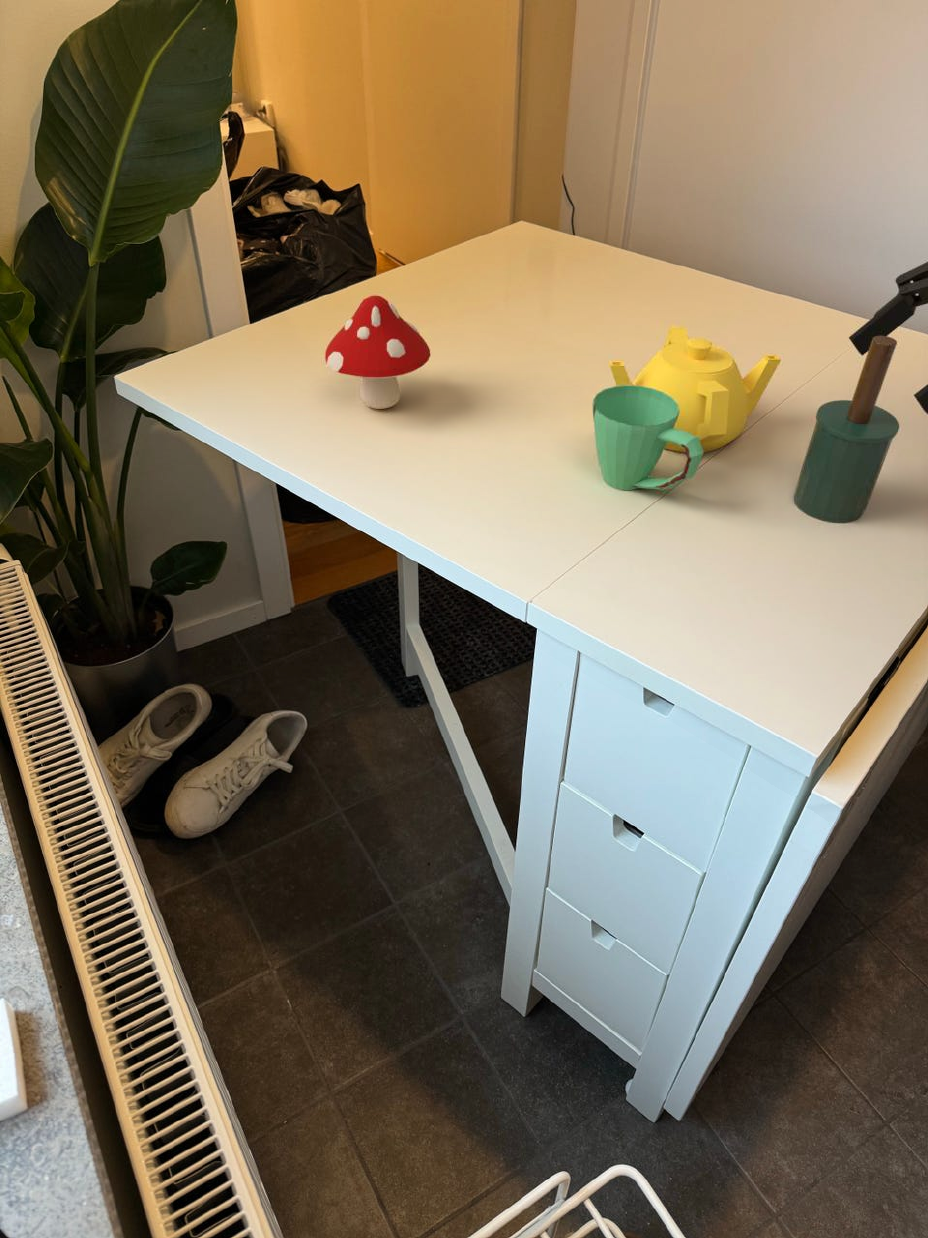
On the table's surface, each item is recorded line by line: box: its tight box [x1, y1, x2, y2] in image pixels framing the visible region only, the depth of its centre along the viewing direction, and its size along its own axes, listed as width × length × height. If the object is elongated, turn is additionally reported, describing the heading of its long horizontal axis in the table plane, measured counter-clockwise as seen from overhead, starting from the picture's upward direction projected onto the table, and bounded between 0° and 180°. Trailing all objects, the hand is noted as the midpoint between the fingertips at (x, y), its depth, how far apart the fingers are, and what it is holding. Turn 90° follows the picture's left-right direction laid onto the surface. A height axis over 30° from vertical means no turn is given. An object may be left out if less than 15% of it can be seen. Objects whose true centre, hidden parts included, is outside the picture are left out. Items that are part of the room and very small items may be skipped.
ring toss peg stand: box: [815, 336, 900, 443], centre depth 95 cm, size 9×9×10 cm
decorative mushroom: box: [324, 295, 431, 410], centre depth 116 cm, size 14×14×15 cm
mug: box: [591, 385, 704, 491], centre depth 104 cm, size 15×10×10 cm
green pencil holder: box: [793, 420, 893, 524], centre depth 102 cm, size 8×8×10 cm
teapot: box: [608, 326, 782, 453], centre depth 114 cm, size 17×17×12 cm
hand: (886, 374), depth 94 cm, fingers open, 13 cm apart
